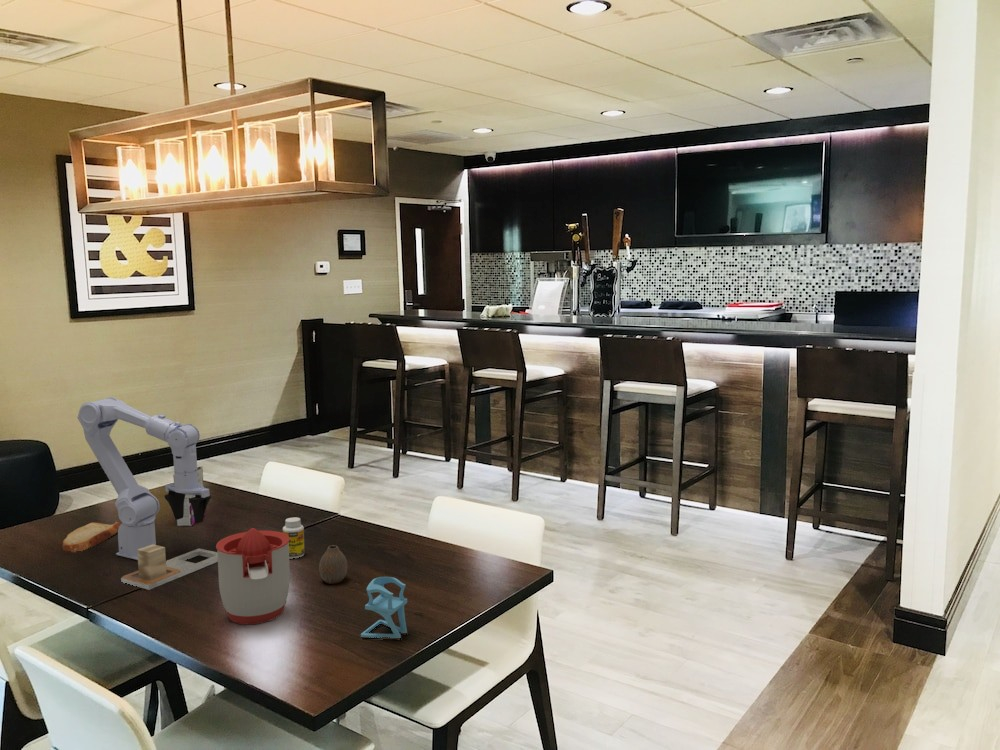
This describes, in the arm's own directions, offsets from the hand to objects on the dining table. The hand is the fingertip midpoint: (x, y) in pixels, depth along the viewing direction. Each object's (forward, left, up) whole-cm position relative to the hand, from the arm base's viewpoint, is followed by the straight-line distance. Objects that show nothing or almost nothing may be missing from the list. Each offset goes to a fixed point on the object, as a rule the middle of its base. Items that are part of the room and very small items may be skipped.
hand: (189, 520), depth 208 cm
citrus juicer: (+43, -19, -11) cm, 48 cm away
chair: (+74, -13, -11) cm, 76 cm away
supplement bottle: (+24, +14, -11) cm, 29 cm away
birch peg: (+4, -15, -11) cm, 19 cm away
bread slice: (-38, -2, -11) cm, 40 cm away
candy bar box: (-26, +23, -11) cm, 37 cm away
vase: (+45, +5, -11) cm, 46 cm away
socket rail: (+4, -8, -10) cm, 14 cm away
